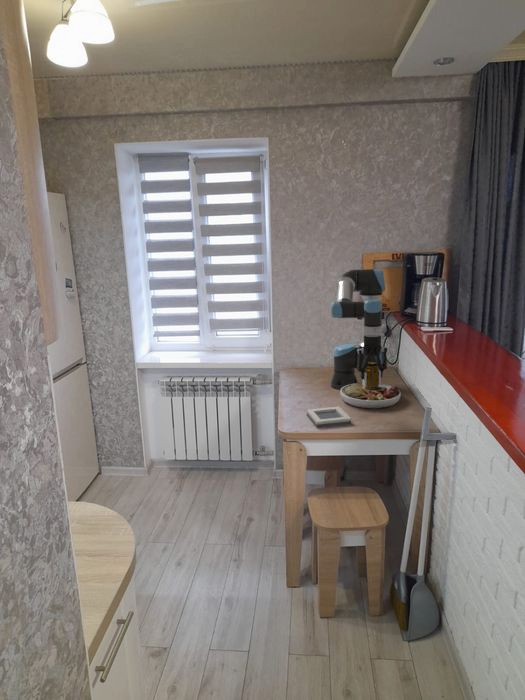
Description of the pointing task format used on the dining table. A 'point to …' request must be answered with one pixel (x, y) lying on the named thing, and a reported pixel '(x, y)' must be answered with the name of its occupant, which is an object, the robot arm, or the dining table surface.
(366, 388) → the condiment
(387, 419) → the dining table surface
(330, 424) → the pocket plate
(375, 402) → the bowl
